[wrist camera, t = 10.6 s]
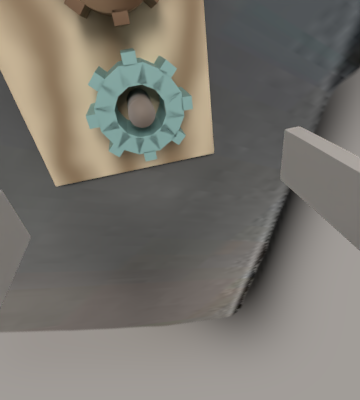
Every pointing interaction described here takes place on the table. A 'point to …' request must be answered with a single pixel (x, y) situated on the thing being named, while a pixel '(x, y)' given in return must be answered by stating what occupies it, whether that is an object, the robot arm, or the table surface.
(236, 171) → the table surface
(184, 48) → the gear board
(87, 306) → the table surface
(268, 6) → the table surface
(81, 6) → the walnut gear
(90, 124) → the teal gear
